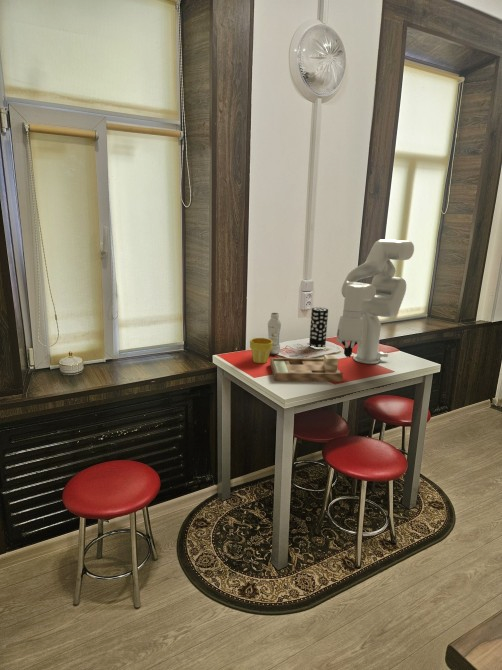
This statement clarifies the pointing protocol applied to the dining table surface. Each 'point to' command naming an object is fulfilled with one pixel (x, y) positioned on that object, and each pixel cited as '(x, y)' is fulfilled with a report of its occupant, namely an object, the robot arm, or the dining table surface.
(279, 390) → the dining table surface
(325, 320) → the spotted tube
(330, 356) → the block
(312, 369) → the box
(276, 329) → the plastic bottle
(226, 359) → the dining table surface
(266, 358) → the plant pot
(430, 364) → the dining table surface
